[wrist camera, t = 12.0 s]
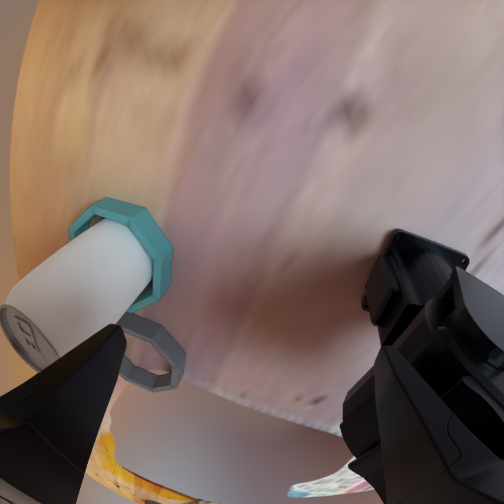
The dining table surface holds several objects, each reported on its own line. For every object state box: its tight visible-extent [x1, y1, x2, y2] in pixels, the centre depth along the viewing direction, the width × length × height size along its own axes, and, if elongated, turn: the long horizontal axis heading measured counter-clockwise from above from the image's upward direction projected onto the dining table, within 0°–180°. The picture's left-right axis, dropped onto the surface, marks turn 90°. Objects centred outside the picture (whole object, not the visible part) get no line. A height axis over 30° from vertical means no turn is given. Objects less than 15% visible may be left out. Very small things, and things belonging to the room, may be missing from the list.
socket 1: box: [69, 197, 173, 313], centre depth 23 cm, size 9×9×2 cm
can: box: [0, 218, 154, 373], centre depth 19 cm, size 6×6×12 cm
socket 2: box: [116, 312, 185, 392], centre depth 28 cm, size 9×9×2 cm
